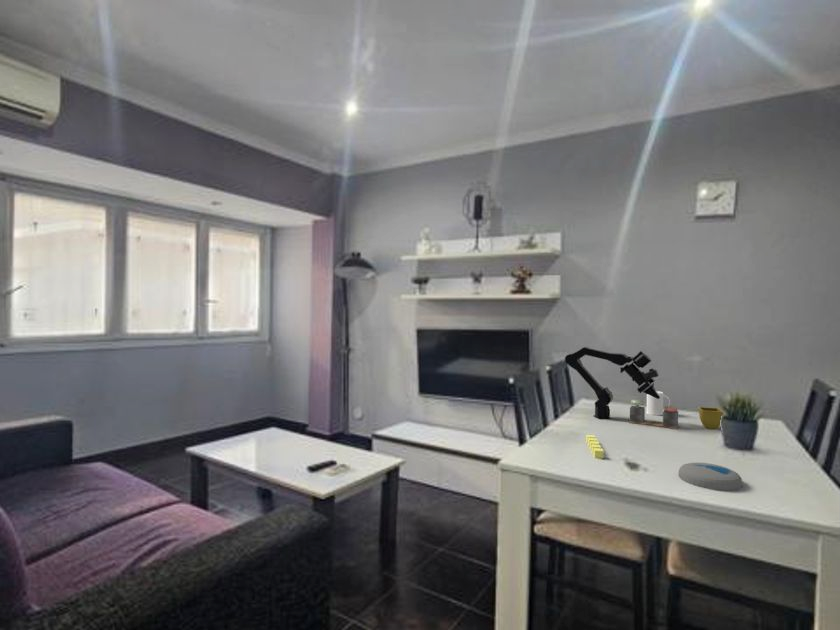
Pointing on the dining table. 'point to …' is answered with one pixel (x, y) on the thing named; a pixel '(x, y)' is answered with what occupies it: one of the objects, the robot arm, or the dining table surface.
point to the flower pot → (710, 417)
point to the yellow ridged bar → (594, 446)
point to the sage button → (637, 402)
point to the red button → (670, 409)
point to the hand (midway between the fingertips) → (659, 398)
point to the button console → (668, 421)
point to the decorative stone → (710, 476)
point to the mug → (655, 404)
